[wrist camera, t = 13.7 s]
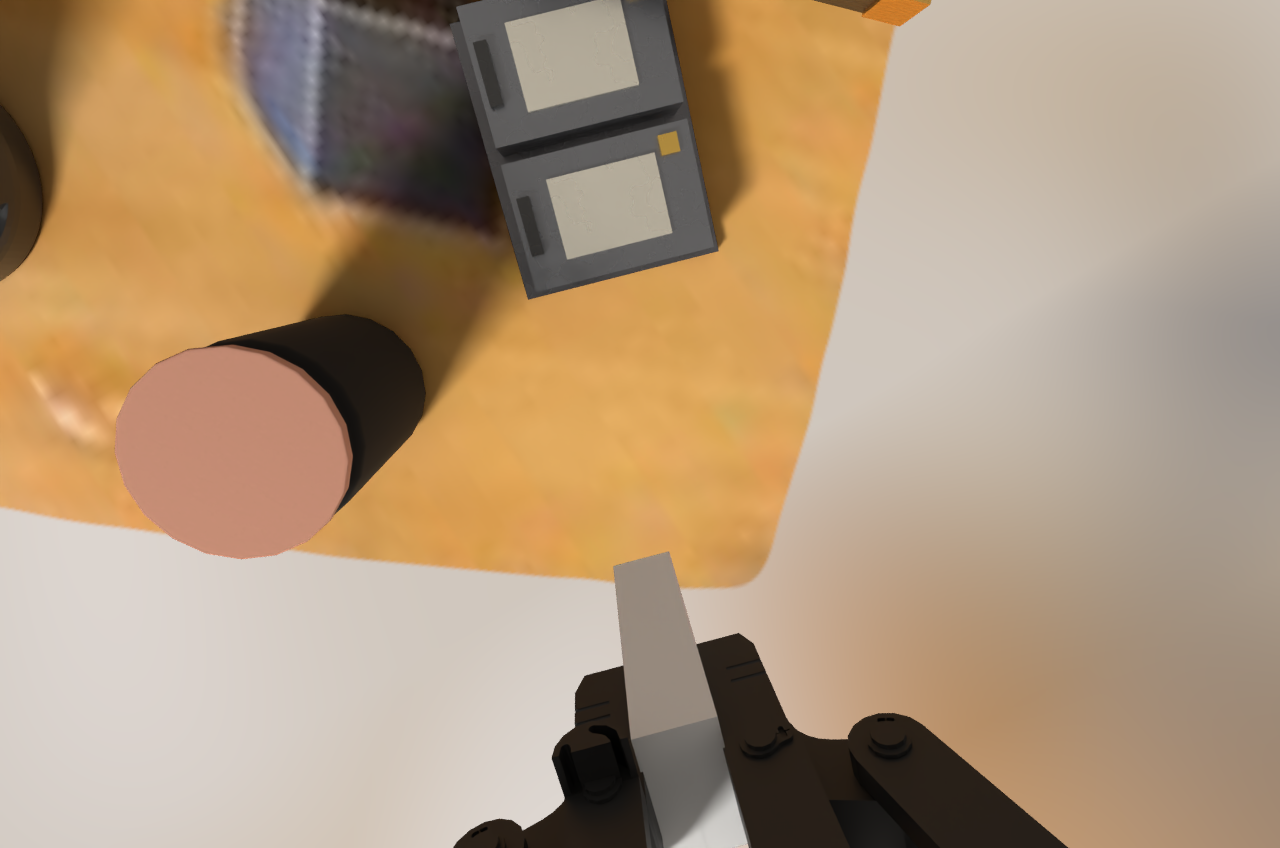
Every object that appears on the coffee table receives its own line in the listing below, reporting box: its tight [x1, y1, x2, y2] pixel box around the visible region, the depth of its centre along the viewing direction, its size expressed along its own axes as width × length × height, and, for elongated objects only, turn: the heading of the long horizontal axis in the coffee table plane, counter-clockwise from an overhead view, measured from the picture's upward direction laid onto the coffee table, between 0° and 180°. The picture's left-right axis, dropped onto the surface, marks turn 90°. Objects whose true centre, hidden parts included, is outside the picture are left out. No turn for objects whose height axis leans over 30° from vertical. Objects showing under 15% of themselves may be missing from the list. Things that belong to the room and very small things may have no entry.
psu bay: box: [450, 0, 718, 299], centre depth 44 cm, size 14×18×6 cm
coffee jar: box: [115, 314, 426, 559], centre depth 41 cm, size 11×11×18 cm
